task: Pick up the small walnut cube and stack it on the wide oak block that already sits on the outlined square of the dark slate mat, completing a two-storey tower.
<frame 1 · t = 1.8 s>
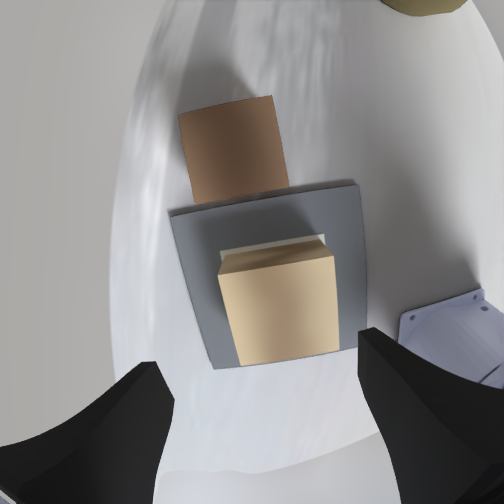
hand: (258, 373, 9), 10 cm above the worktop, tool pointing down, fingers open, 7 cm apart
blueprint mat: (279, 287, 19), on the worktop
oak block: (279, 290, 18), point 1 cm above the worktop, touching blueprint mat
walnut block: (239, 154, 17), on the worktop
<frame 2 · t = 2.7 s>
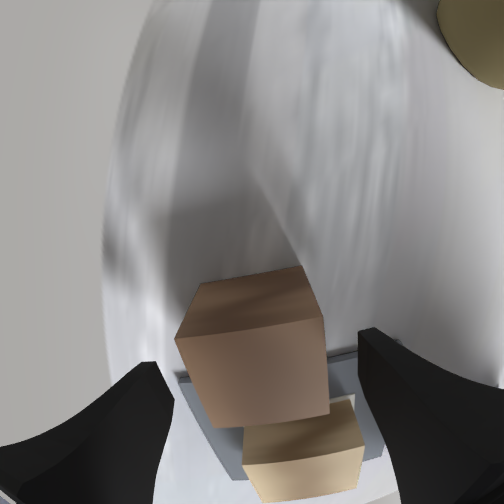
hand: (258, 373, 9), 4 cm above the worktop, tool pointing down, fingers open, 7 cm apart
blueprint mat: (301, 430, 15), on the worktop
squeeze bottle: (471, 42, 8), on the worktop
oak block: (301, 437, 15), point 1 cm above the worktop, touching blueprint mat
walnut block: (260, 318, 13), on the worktop
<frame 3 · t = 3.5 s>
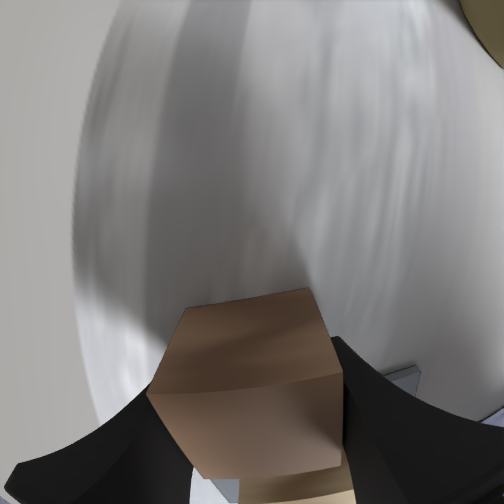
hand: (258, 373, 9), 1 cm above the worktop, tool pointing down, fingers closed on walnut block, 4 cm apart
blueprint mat: (303, 458, 13), on the worktop
squeeze bottle: (495, 30, 6), on the worktop
oak block: (304, 466, 12), point 1 cm above the worktop, touching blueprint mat
walnut block: (258, 349, 10), on the worktop, touching gripper
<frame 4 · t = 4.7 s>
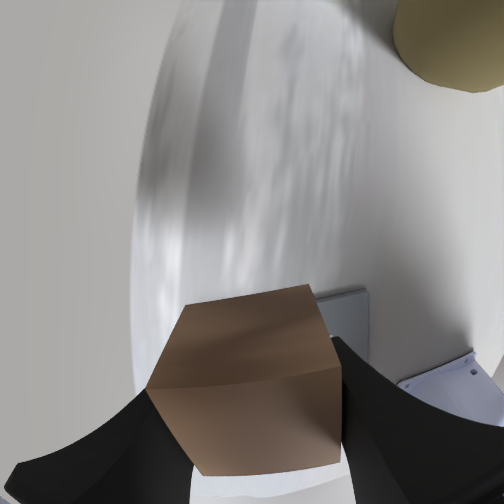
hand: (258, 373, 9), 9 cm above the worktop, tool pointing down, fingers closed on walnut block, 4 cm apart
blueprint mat: (290, 373, 20), on the worktop
squeeze bottle: (424, 50, 13), on the worktop
walnut block: (257, 346, 10), point 7 cm above the worktop, touching gripper
when the fingers open (7 cm above the worktop, at t = 5.9 s): walnut block stays where it is, resting on oak block.
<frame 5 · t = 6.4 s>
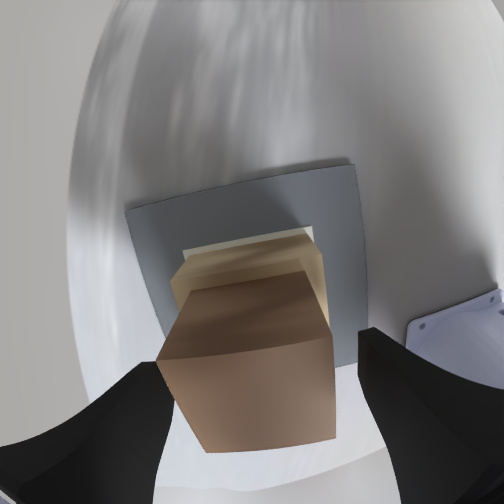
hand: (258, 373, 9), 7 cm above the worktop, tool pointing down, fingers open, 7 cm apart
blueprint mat: (258, 293, 15), on the worktop
oak block: (258, 298, 15), point 1 cm above the worktop, touching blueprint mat, walnut block
walnut block: (257, 330, 11), point 4 cm above the worktop, touching oak block
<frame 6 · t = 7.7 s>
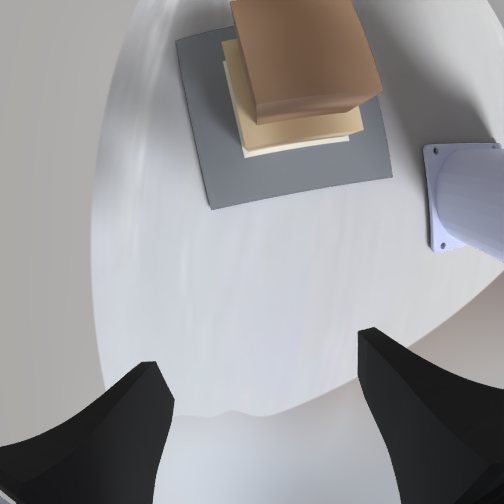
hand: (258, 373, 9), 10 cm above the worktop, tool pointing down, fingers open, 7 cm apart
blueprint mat: (285, 99, 16), on the worktop
oak block: (286, 97, 15), point 1 cm above the worktop, touching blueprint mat, walnut block
walnut block: (292, 76, 12), point 4 cm above the worktop, touching oak block
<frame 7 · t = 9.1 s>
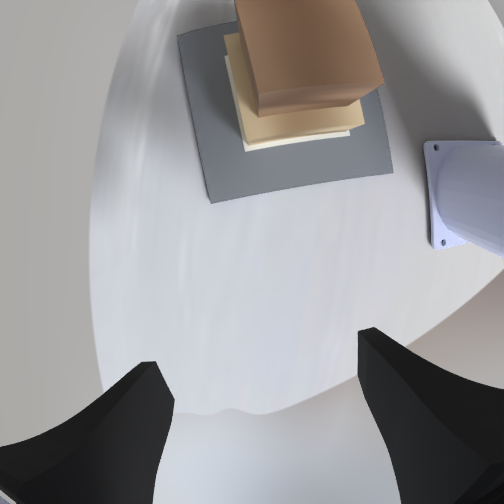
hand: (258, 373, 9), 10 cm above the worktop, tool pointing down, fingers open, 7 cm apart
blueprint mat: (286, 94, 15), on the worktop
oak block: (287, 91, 15), point 1 cm above the worktop, touching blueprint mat, walnut block
walnut block: (294, 69, 11), point 4 cm above the worktop, touching oak block
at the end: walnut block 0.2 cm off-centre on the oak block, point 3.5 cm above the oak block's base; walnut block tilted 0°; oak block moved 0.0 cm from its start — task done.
